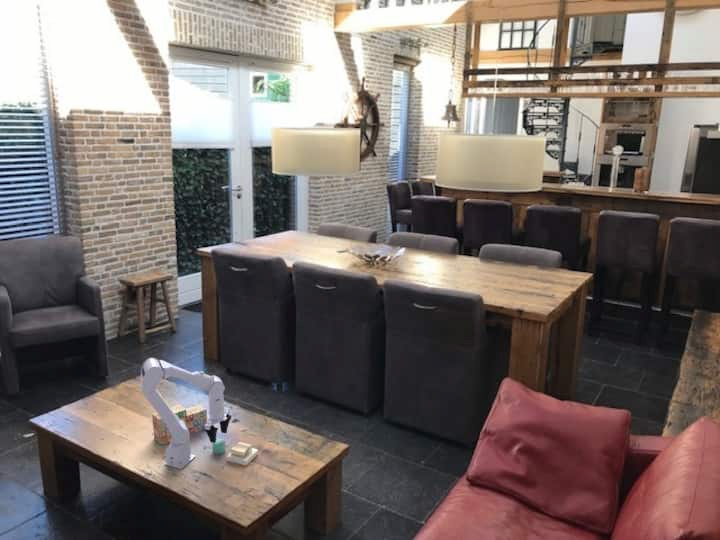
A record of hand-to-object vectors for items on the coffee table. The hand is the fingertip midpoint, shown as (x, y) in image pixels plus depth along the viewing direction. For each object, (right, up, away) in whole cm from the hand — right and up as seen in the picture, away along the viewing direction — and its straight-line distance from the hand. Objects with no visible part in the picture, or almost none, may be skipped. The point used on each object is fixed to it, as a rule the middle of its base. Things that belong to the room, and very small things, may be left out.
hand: (218, 437), depth 240 cm
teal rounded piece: (0, -6, +2) cm, 6 cm away
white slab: (+10, -8, -2) cm, 13 cm away
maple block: (+10, -5, -3) cm, 11 cm away
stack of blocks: (-19, -3, +14) cm, 24 cm away
